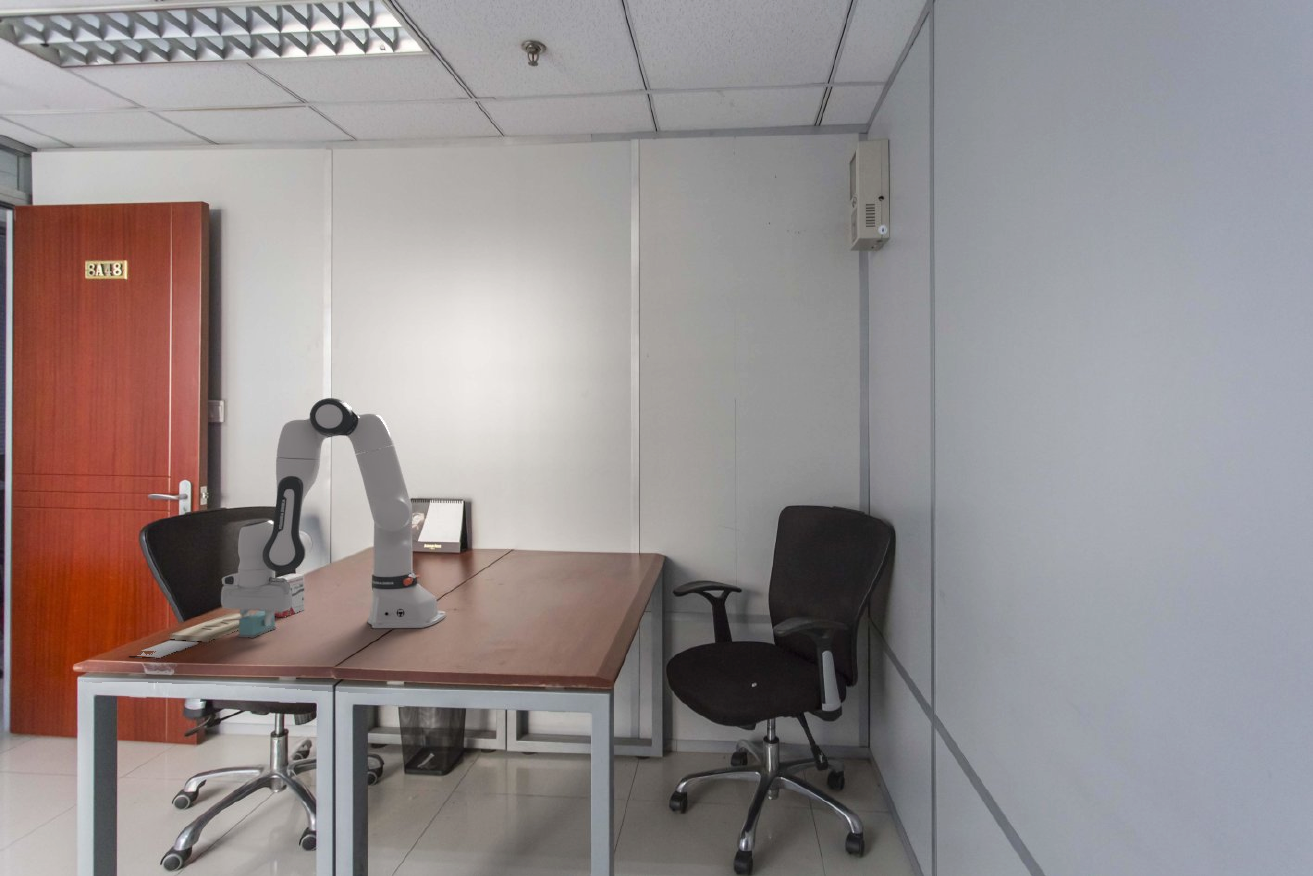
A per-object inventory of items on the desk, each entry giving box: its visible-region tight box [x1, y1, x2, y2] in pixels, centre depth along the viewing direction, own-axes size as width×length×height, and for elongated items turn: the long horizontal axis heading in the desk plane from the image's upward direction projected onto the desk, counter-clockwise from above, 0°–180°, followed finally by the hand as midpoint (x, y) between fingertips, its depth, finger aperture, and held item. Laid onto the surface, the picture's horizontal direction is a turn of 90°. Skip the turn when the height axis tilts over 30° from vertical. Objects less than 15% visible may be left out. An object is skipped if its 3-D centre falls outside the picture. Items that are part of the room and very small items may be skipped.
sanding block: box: [237, 611, 277, 639], centre depth 174 cm, size 5×8×5 cm, turn 169°
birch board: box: [169, 612, 252, 643], centre depth 177 cm, size 12×20×2 cm, turn 171°
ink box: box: [275, 573, 306, 618], centre depth 193 cm, size 9×5×12 cm, turn 168°
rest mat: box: [137, 639, 199, 659], centre depth 160 cm, size 9×11×1 cm
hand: (257, 625), depth 174 cm, fingers closed on sanding block, 4 cm apart
